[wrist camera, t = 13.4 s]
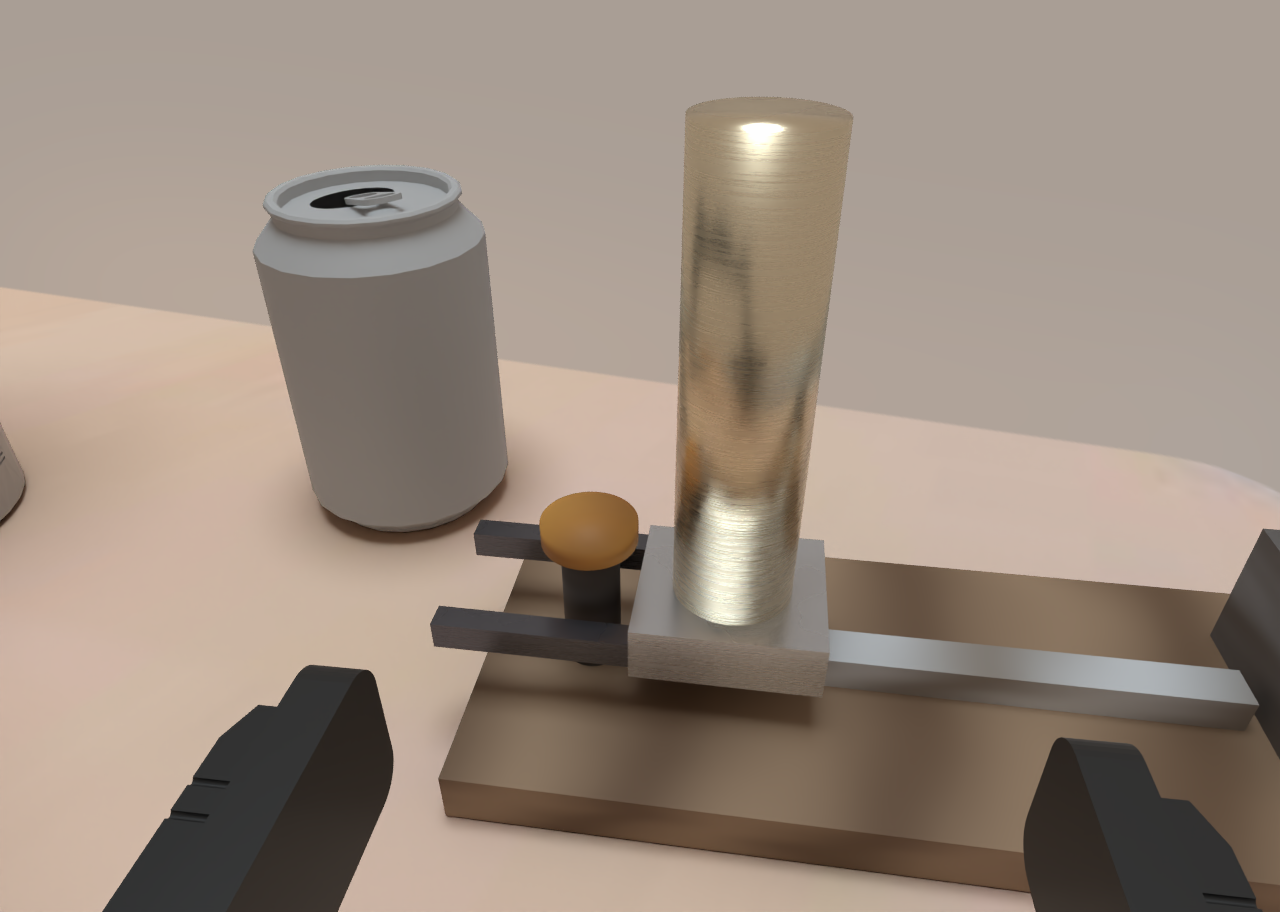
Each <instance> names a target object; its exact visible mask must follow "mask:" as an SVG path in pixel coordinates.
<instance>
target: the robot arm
mask: <svg viewBox="0 0 1280 912" xmlns="http://www.w3.org/2000/svg"><path fill="white" fill-rule="evenodd" d="M24 485H25V479H24V473H23V470H22V468H21V466H20V464H19V461H18V459H17V457H16V455H15V453H14V451H13V449H12V447H11V444H10V442H9V440H8V438H7V436H6V434H5V432H4V430H3V428H2V425H1V423H0V520H1V519H2V518H4V517H5V516H6V515H7V514H8V513H9V512H10V511H11V509H12V508H13V507H14V505H15V504H16V502H17V501H18V500H19V498H20V497H21V494H22V491H23V488H24ZM392 774H393V750H392V745H391V741H390V737H389V733H388V729H387V725H386V721H385V717H384V713H383V709H382V704H381V700H380V696H379V692H378V688H377V684H376V680H375V677H374V675H373V674H372V673H371V672H370V671H368V670H361V669H351V668H340V667H329V666H318V665H309V666H306V667H305V668H303V669H302V670H301V671H300V672H299V673H298V675H297V676H296V678H295V679H294V681H293V682H292V684H291V685H290V687H289V689H288V690H287V692H286V693H285V695H284V697H283V698H282V700H281V701H280V703H279V705H278V706H277V707H274V706H264V705H258V706H257V707H255V708H254V709H253V710H252V711H251V712H249V713H248V714H247V715H246V716H245V717H243V718H242V719H241V720H240V721H239V722H237V723H236V724H235V725H234V726H233V727H231V728H230V729H229V730H228V731H227V732H225V733H224V734H223V735H222V736H221V737H219V739H218V740H217V742H216V743H215V745H214V746H213V748H212V749H211V751H210V752H209V754H208V755H207V757H206V758H205V760H204V761H203V763H202V764H201V766H200V767H199V769H198V770H197V772H196V773H195V775H194V776H193V782H192V784H191V785H187V786H186V788H185V789H184V791H183V792H182V794H181V795H180V797H179V798H178V800H177V801H176V803H175V804H174V806H173V807H172V809H171V815H170V817H169V818H168V819H164V821H163V822H162V824H161V825H160V827H159V828H158V830H157V831H156V833H155V834H154V835H153V837H152V838H151V840H150V841H149V843H148V844H147V846H146V847H145V849H144V850H143V852H142V853H141V855H140V856H139V858H138V859H137V861H136V862H135V864H134V865H133V867H132V868H131V870H130V871H129V873H128V874H127V876H126V877H125V879H124V880H123V882H122V883H121V885H120V886H119V888H118V889H117V891H116V892H115V893H114V895H113V896H112V898H111V899H110V901H109V902H108V904H107V905H106V907H105V908H104V910H103V911H102V912H338V910H339V907H340V905H341V903H342V900H343V898H344V896H345V894H346V891H347V889H348V887H349V884H350V882H351V880H352V878H353V875H354V873H355V871H356V869H357V866H358V864H359V862H360V859H361V857H362V855H363V853H364V850H365V848H366V846H367V843H368V841H369V839H370V837H371V834H372V832H373V830H374V827H375V825H376V823H377V821H378V818H379V816H380V814H381V811H382V809H383V807H384V804H385V802H386V799H387V796H388V793H389V789H390V785H391V780H392ZM1023 852H1024V864H1025V870H1026V876H1027V880H1028V884H1029V888H1030V892H1031V896H1032V899H1033V903H1034V907H1035V911H1036V912H1263V911H1262V909H1258V908H1257V906H1256V897H1255V895H1254V893H1253V890H1252V888H1251V886H1250V884H1249V882H1248V880H1247V878H1246V876H1245V874H1244V872H1243V870H1242V868H1241V866H1240V864H1239V862H1238V860H1237V857H1236V855H1235V853H1234V851H1233V849H1232V847H1231V846H1230V845H1229V844H1228V843H1227V841H1226V840H1225V839H1224V838H1223V837H1222V836H1221V835H1220V834H1219V833H1218V832H1217V831H1216V829H1215V828H1214V827H1213V826H1212V825H1211V824H1210V823H1209V822H1208V821H1207V820H1206V818H1205V817H1204V816H1203V815H1202V814H1201V813H1200V812H1199V811H1198V810H1197V809H1196V808H1195V806H1194V805H1193V804H1192V803H1191V802H1190V801H1188V800H1178V799H1168V798H1161V796H1160V794H1159V792H1158V789H1157V787H1156V785H1155V782H1154V780H1153V778H1152V775H1151V773H1150V771H1149V768H1148V766H1147V764H1146V762H1145V760H1144V758H1143V756H1142V754H1141V753H1140V751H1139V750H1138V749H1137V748H1136V747H1135V746H1134V745H1132V744H1128V743H1118V742H1107V741H1096V740H1086V739H1075V738H1064V737H1060V738H1058V739H1056V740H1055V742H1054V743H1053V745H1052V748H1051V750H1050V753H1049V756H1048V759H1047V761H1046V764H1045V767H1044V770H1043V773H1042V775H1041V778H1040V781H1039V784H1038V787H1037V789H1036V792H1035V795H1034V798H1033V801H1032V803H1031V806H1030V809H1029V812H1028V815H1027V818H1026V821H1025V827H1024V836H1023Z"/></svg>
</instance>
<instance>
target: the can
mask: <svg viewBox="0 0 1280 912" xmlns="http://www.w3.org/2000/svg"><path fill="white" fill-rule="evenodd" d="M461 194H462V190H461V187H460V183H459V182H458V181H457V180H456V179H454V178H453V177H451V176H449V175H448V174H446V173H443V172H440V171H436V170H432V169H429V168H422V167H414V166H405V165H401V166H400V165H370V166H354V167H346V168H339V169H332V170H326V171H321V172H317V173H312V174H308V175H304V176H300V177H297V178H295V179H292V180H290V181H288V182H285V183H282V184H280V185H278V186H277V187H276V188H274V189H273V190H271V191H270V192H269V193H268V194H267V195H266V197H265V200H264V203H263V208H264V209H265V210H266V211H267V212H268V214H269V215H270V216H271V218H270V220H269V221H268V223H267V224H266V226H265V228H264V229H263V231H262V232H261V234H260V235H259V237H258V238H257V240H256V243H255V246H254V249H253V254H254V259H255V262H256V266H257V270H258V274H259V278H260V282H261V286H262V290H263V294H264V298H265V302H266V306H267V310H268V314H269V318H270V322H271V326H272V330H273V334H274V338H275V341H276V345H277V349H278V353H279V357H280V361H281V365H282V369H283V373H284V377H285V381H286V385H287V389H288V393H289V397H290V401H291V405H292V409H293V413H294V416H295V420H296V424H297V428H298V432H299V436H300V440H301V444H302V448H303V452H304V456H305V460H306V464H307V468H308V472H309V476H310V480H311V484H312V488H313V491H314V492H315V494H316V496H317V498H318V500H319V502H320V503H321V505H322V506H323V507H325V508H326V509H328V510H329V511H331V512H332V513H334V514H335V515H337V516H338V517H340V518H342V519H346V520H350V521H353V522H356V523H358V524H359V525H361V526H365V527H368V528H372V529H376V530H379V531H393V532H409V531H416V530H422V529H429V528H433V527H436V526H439V525H442V524H445V523H447V522H450V521H453V520H455V519H457V518H459V517H460V516H462V515H464V514H465V513H467V512H469V511H470V510H472V509H473V508H474V507H475V506H476V505H477V504H478V503H479V502H480V501H481V500H483V499H484V498H486V497H487V496H488V495H489V494H490V493H491V492H492V491H493V490H494V488H495V487H496V486H497V485H498V484H499V483H500V482H501V481H502V479H503V476H504V473H505V470H506V468H507V465H508V458H507V448H506V438H505V428H504V418H503V408H502V398H501V388H500V378H499V368H498V358H497V349H496V337H495V327H494V317H493V307H492V297H491V287H490V277H489V267H488V257H487V247H486V237H485V231H484V228H483V224H482V222H481V221H480V220H479V219H478V218H477V217H476V216H475V215H474V214H473V213H472V212H471V211H469V210H468V209H467V208H466V207H465V206H464V205H463V204H462V203H461V202H460V201H459V200H458V198H459V197H460V195H461Z"/></svg>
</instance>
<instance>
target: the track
mask: <svg viewBox="0 0 1280 912" xmlns="http://www.w3.org/2000/svg"><path fill="white" fill-rule="evenodd" d="M539 525H540V537H541V546H542V549H543V551H544V553H545V554H546V555H547V557H548V558H550V559H551V560H552V561H553V562H547V561H537V560H526V559H524V561H523V564H522V566H521V569H520V571H519V574H518V576H517V579H516V581H515V584H514V587H513V589H512V592H511V594H510V597H509V599H508V602H507V605H506V607H505V610H504V613H514V614H524V615H534V616H544V617H553V618H563V619H573V620H583V621H593V622H602V623H612V624H622V625H629V624H630V619H631V615H632V610H633V605H634V601H635V596H636V591H637V587H638V582H639V577H640V573H641V570H632V569H622V568H620V563H621V562H623V561H624V560H626V559H627V558H628V557H629V556H630V555H631V554H632V553H633V552H634V551H635V549H636V547H637V544H638V515H637V512H636V511H635V509H634V508H633V506H632V505H630V504H629V503H628V502H627V501H625V500H624V499H622V498H620V497H617V496H615V495H611V494H607V493H601V492H581V493H575V494H571V495H567V496H565V497H562V498H560V499H558V500H556V501H554V502H553V503H552V504H550V505H549V506H548V507H547V508H546V509H545V510H544V512H543V513H542V515H541V518H540V524H539ZM825 572H826V591H827V610H828V628H829V647H830V655H829V661H828V667H827V673H826V678H825V684H824V690H823V696H822V698H821V697H812V696H803V695H794V694H785V693H775V692H766V691H757V690H748V689H739V688H730V687H720V686H711V685H702V684H693V683H684V682H675V681H665V680H656V679H647V678H638V677H629V676H628V667H622V666H613V665H603V664H594V663H585V662H575V661H566V660H557V659H548V658H538V657H529V656H520V655H511V654H501V653H492V652H488V653H487V656H486V658H485V661H484V663H483V666H482V668H481V671H480V674H479V676H478V679H477V681H476V684H475V686H474V689H473V691H472V694H471V697H470V699H469V702H468V704H467V707H466V709H465V712H464V715H463V717H462V720H461V722H460V725H459V727H458V730H457V732H456V735H455V738H454V740H453V743H452V745H451V748H450V750H449V753H448V755H447V758H446V761H445V763H444V766H443V768H442V771H441V773H440V776H439V778H438V779H439V784H440V789H441V794H442V799H443V804H444V809H445V814H446V815H447V816H455V817H462V818H470V819H477V820H485V821H493V822H500V823H508V824H515V825H523V826H531V827H538V828H546V829H553V830H561V831H569V832H576V833H584V834H591V835H599V836H607V837H614V838H622V839H630V840H637V841H645V842H652V843H660V844H668V845H675V846H683V847H690V848H698V849H706V850H713V851H721V852H728V853H736V854H744V855H751V856H759V857H766V858H774V859H782V860H789V861H797V862H805V863H812V864H820V865H827V866H835V867H843V868H850V869H858V870H865V871H873V872H881V873H888V874H896V875H903V876H911V877H919V878H926V879H934V880H941V881H949V882H957V883H964V884H972V885H980V886H987V887H995V888H1002V889H1010V890H1018V891H1025V892H1030V888H1029V884H1028V880H1027V876H1026V870H1025V864H1024V852H1023V836H1024V827H1025V821H1026V818H1027V815H1028V812H1029V809H1030V806H1031V803H1032V801H1033V798H1034V795H1035V792H1036V789H1037V787H1038V784H1039V781H1040V778H1041V775H1042V773H1043V770H1044V767H1045V764H1046V761H1047V759H1048V756H1049V753H1050V750H1051V748H1052V745H1053V743H1054V742H1055V740H1056V739H1058V738H1060V737H1064V738H1075V739H1086V740H1096V741H1107V742H1118V743H1128V744H1132V745H1134V746H1135V747H1136V748H1137V749H1138V750H1139V751H1140V753H1141V754H1142V756H1143V758H1144V760H1145V762H1146V764H1147V766H1148V768H1149V771H1150V773H1151V775H1152V778H1153V780H1154V782H1155V785H1156V787H1157V789H1158V792H1159V794H1160V796H1161V798H1168V799H1178V800H1188V801H1190V802H1191V803H1192V804H1193V805H1194V806H1195V808H1196V809H1197V810H1198V811H1199V812H1200V813H1201V814H1202V815H1203V816H1204V817H1205V818H1206V820H1207V821H1208V822H1209V823H1210V824H1211V825H1212V826H1213V827H1214V828H1215V829H1216V831H1217V832H1218V833H1219V834H1220V835H1221V836H1222V837H1223V838H1224V839H1225V840H1226V841H1227V843H1228V844H1229V845H1230V846H1231V847H1232V849H1233V851H1234V853H1235V855H1236V857H1237V860H1238V862H1239V864H1240V866H1241V868H1242V870H1243V872H1244V874H1245V876H1246V878H1247V880H1248V882H1249V884H1250V886H1251V888H1252V890H1253V893H1254V895H1255V897H1256V906H1257V908H1258V909H1262V911H1263V912H1280V530H1273V529H1263V530H1262V532H1261V534H1260V536H1259V538H1258V540H1257V542H1256V544H1255V546H1254V548H1253V550H1252V552H1251V554H1250V556H1249V558H1248V560H1247V562H1246V564H1245V566H1244V568H1243V570H1242V572H1241V574H1240V576H1239V578H1238V580H1237V582H1236V584H1235V586H1234V588H1233V590H1232V592H1231V594H1225V593H1214V592H1203V591H1192V590H1181V589H1170V588H1159V587H1148V586H1137V585H1126V584H1115V583H1104V582H1092V581H1081V580H1070V579H1059V578H1048V577H1037V576H1026V575H1015V574H1004V573H993V572H982V571H971V570H960V569H949V568H937V567H926V566H915V565H904V564H893V563H882V562H871V561H860V560H849V559H838V558H827V557H825Z"/></svg>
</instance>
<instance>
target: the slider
mask: <svg viewBox="0 0 1280 912" xmlns="http://www.w3.org/2000/svg"><path fill="white" fill-rule="evenodd" d="M685 119H686V120H685V156H684V191H683V227H682V262H681V263H682V264H681V298H680V301H681V302H680V334H679V371H678V373H679V374H678V406H677V442H676V478H675V515H674V527H665V526H654V525H651V526H650V531H649V535H646V534H638V544H637V547H636V549H635V551H634V552H633V553H632V554H631V555H630V556H629V557H628V558H627V559H626V560H624V561H623V562H621V563H620V568H622V569H632V570H641V573H640V577H639V582H638V587H637V591H636V596H635V601H634V605H633V610H632V615H631V619H630V624H629V625H622V624H612V623H602V622H593V621H583V620H573V619H563V618H553V617H544V616H534V615H524V614H514V613H504V612H495V611H485V610H475V609H465V608H455V607H446V606H439V607H438V609H437V611H436V613H435V615H434V617H433V619H432V622H431V624H430V626H431V632H432V637H433V643H434V646H436V647H446V648H455V649H464V650H473V651H483V652H492V653H501V654H511V655H520V656H529V657H538V658H548V659H557V660H566V661H575V662H585V663H594V664H603V665H613V666H622V667H628V676H629V677H638V678H647V679H656V680H665V681H675V682H684V683H693V684H702V685H711V686H720V687H730V688H739V689H748V690H757V691H766V692H775V693H785V694H794V695H803V696H812V697H821V698H822V696H823V690H824V684H825V678H826V673H827V667H828V661H829V655H830V647H829V628H828V610H827V591H826V572H825V554H824V540H813V539H801V538H799V535H800V527H801V519H802V511H803V504H804V496H805V488H806V480H807V473H808V465H809V457H810V449H811V442H812V434H813V426H814V418H815V411H816V402H817V395H818V387H819V378H820V372H821V364H822V356H823V348H824V340H825V333H826V325H827V317H828V309H829V302H830V294H831V285H832V279H833V271H834V263H835V255H836V248H837V240H838V232H839V224H840V216H841V209H842V201H843V193H844V186H845V178H846V170H847V162H848V154H849V147H850V139H851V131H852V124H853V115H852V114H851V113H850V112H849V111H847V110H845V109H842V108H840V107H837V106H834V105H830V104H827V103H822V102H816V101H810V100H803V99H793V98H781V97H739V98H726V99H719V100H712V101H707V102H703V103H699V104H696V105H694V106H692V107H690V108H688V110H687V111H686V117H685ZM474 539H475V546H476V554H477V555H484V556H494V557H505V558H516V559H526V560H537V561H547V562H553V561H552V560H551V559H550V558H548V557H547V555H546V554H545V553H544V551H543V549H542V546H541V537H540V525H535V524H523V523H512V522H501V521H490V520H480V522H479V524H478V526H477V528H476V531H475V533H474Z"/></svg>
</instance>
